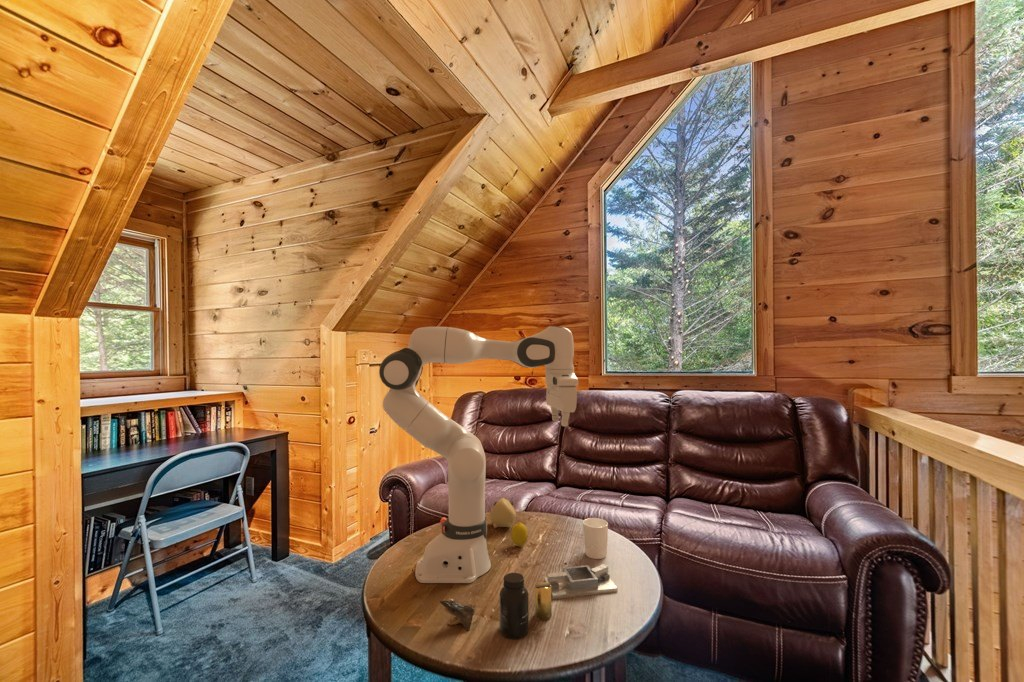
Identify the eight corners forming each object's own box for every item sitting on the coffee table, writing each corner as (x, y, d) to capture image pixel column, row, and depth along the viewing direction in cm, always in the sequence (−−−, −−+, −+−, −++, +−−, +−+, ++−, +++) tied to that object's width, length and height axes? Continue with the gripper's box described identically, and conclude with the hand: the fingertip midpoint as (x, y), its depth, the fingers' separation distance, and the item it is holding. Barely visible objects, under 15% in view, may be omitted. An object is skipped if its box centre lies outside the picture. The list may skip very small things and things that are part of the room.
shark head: (441, 637, 96) (438, 611, 95) (443, 615, 102) (440, 590, 101) (475, 631, 97) (472, 606, 96) (475, 610, 103) (472, 586, 102)
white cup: (610, 560, 129) (610, 527, 129) (585, 560, 129) (584, 527, 129) (605, 548, 136) (605, 517, 137) (581, 548, 137) (581, 517, 137)
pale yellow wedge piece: (517, 520, 160) (516, 492, 161) (515, 533, 148) (514, 503, 149) (491, 519, 161) (491, 492, 161) (488, 533, 149) (487, 503, 149)
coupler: (537, 621, 100) (536, 590, 100) (533, 611, 104) (533, 581, 104) (553, 619, 100) (553, 589, 101) (549, 609, 104) (548, 580, 104)
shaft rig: (552, 599, 109) (552, 584, 109) (544, 580, 117) (544, 567, 118) (617, 591, 112) (617, 577, 112) (604, 574, 120) (604, 561, 121)
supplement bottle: (530, 639, 94) (529, 584, 94) (500, 641, 93) (499, 586, 93) (527, 619, 100) (526, 569, 101) (498, 621, 100) (498, 570, 100)
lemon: (511, 542, 141) (511, 518, 142) (527, 542, 141) (527, 518, 141) (510, 550, 136) (510, 525, 136) (527, 550, 136) (527, 525, 136)
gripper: (541, 376, 138) (541, 418, 137) (559, 380, 118) (559, 429, 117) (559, 376, 139) (560, 418, 138) (580, 380, 119) (580, 428, 118)
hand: (559, 423), depth 128 cm, fingers open, 8 cm apart
